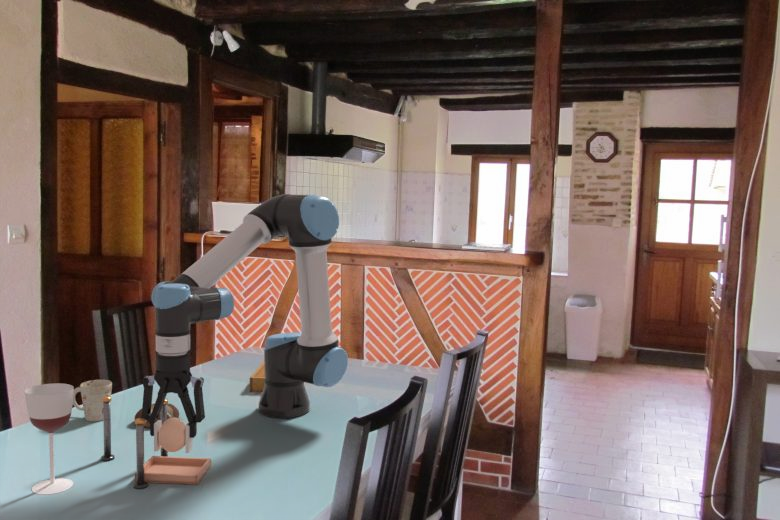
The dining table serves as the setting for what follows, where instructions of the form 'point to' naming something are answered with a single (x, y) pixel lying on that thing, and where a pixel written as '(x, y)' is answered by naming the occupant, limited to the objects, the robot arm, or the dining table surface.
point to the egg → (172, 434)
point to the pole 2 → (140, 454)
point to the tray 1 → (175, 470)
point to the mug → (93, 398)
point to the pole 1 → (107, 429)
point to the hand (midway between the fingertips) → (173, 449)
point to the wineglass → (50, 424)
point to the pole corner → (163, 417)
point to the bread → (171, 413)
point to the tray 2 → (258, 379)
